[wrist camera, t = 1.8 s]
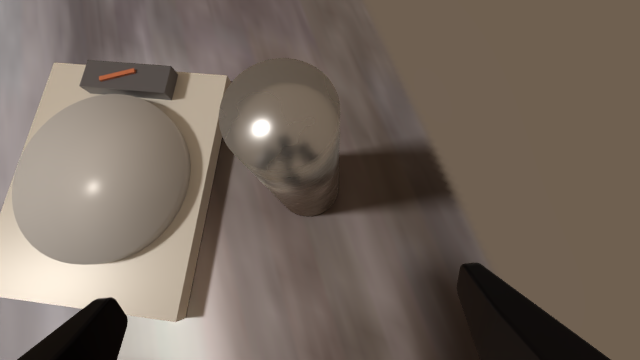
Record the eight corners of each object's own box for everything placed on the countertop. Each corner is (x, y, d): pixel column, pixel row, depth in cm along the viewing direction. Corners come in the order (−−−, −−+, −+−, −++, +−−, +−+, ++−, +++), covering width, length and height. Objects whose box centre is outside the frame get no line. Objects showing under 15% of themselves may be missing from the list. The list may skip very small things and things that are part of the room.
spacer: (335, 219, 20) (333, 177, 10) (274, 213, 21) (207, 164, 10) (341, 160, 21) (345, 62, 11) (283, 155, 22) (230, 54, 11)
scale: (185, 318, 19) (165, 326, 17) (-8, 291, 20) (-51, 295, 18) (232, 84, 23) (221, 65, 21) (67, 72, 24) (39, 52, 22)
